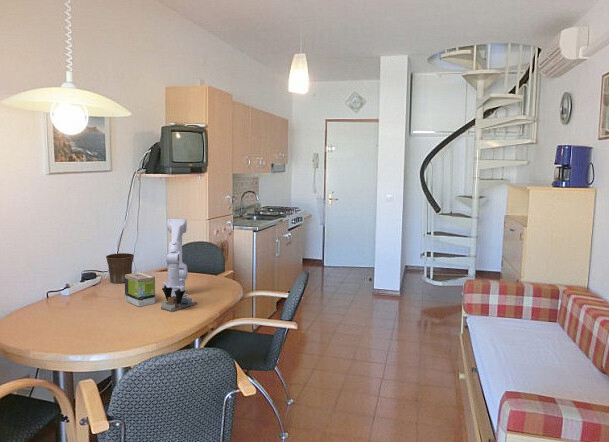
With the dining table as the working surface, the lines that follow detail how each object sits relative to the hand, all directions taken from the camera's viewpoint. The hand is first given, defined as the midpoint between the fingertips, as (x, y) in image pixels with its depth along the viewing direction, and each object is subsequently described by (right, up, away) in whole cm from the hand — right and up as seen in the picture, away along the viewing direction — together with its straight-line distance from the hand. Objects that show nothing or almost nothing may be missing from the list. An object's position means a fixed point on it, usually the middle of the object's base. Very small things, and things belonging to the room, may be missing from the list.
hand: (173, 302), depth 243 cm
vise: (+2, -3, +3) cm, 5 cm away
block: (0, -2, 0) cm, 2 cm away
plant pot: (-47, +4, +51) cm, 69 cm away
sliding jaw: (+5, -1, +7) cm, 9 cm away
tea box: (-20, -2, +9) cm, 23 cm away
